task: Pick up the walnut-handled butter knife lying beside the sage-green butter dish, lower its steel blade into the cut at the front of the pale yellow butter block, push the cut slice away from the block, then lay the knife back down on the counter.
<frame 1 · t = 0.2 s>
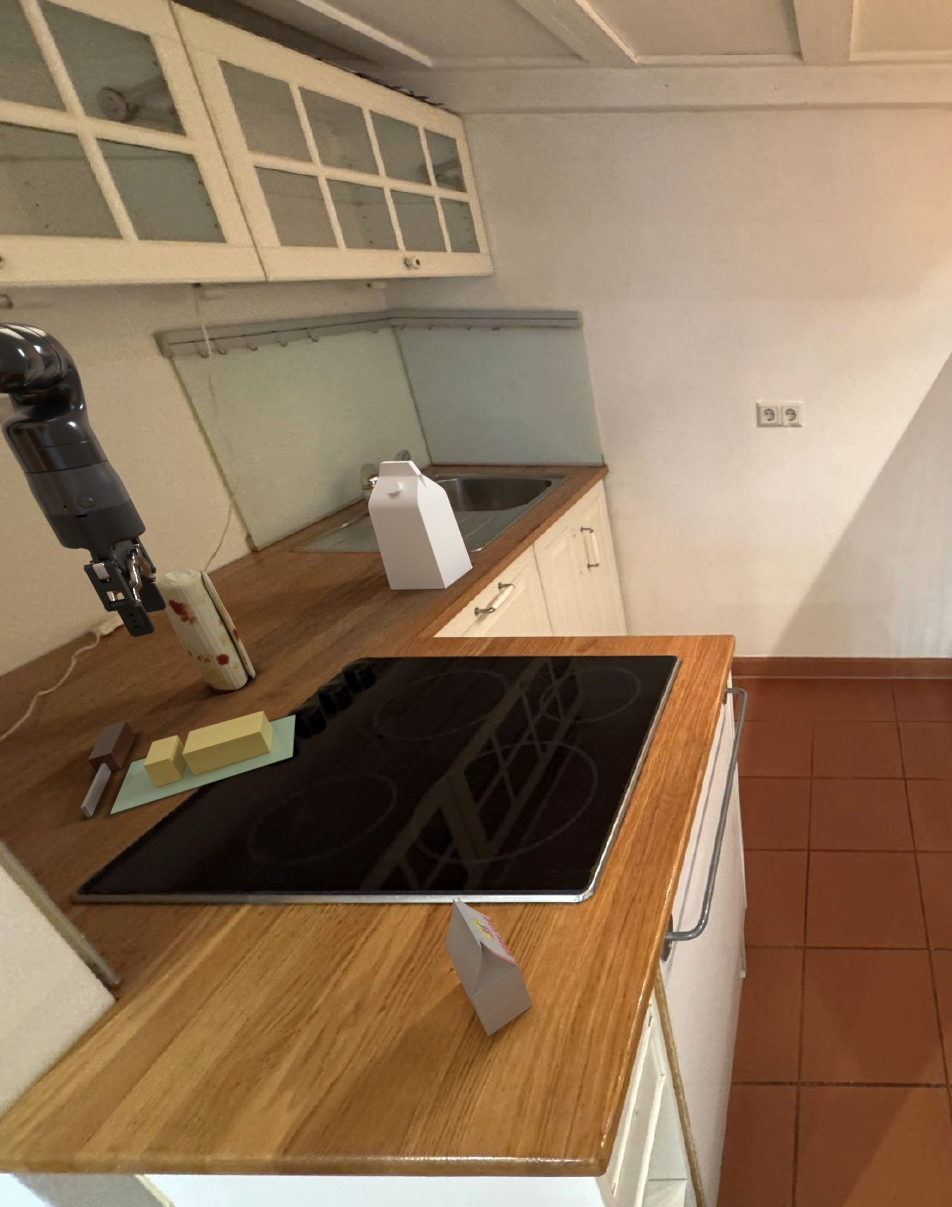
hand: (150, 621, 86), 19 cm above the worktop, tool pointing down, fingers open, 8 cm apart
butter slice: (173, 771, 86), point 1 cm above the worktop, touching butter dish
milk: (433, 579, 146), on the worktop
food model: (234, 685, 107), on the worktop
butter knife: (120, 760, 90), on the worktop
gable top carton: (498, 1001, 58), on the worktop
butter block: (235, 752, 89), resting on butter dish
butter dish: (215, 765, 89), on the worktop
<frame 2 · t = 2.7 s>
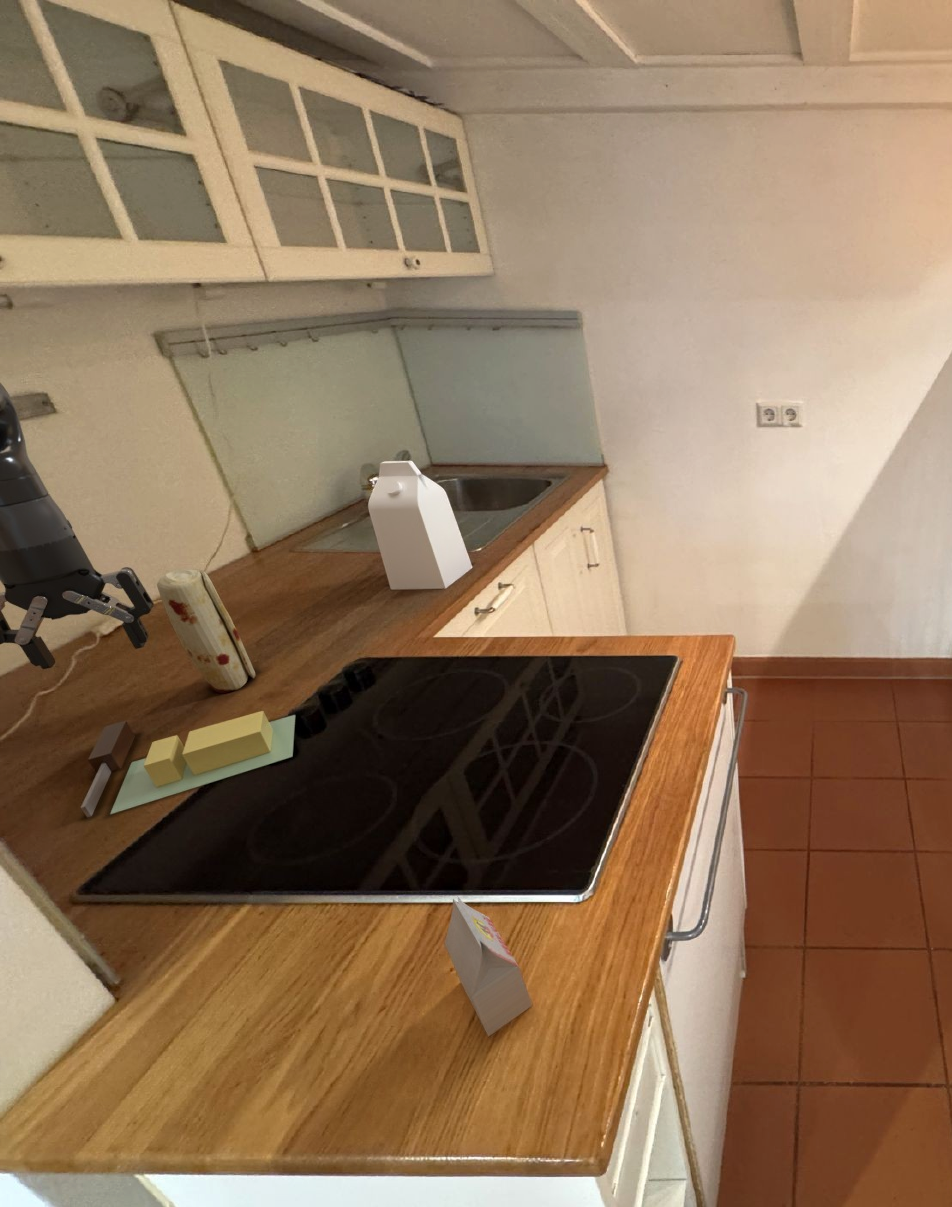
hand: (96, 655, 85), 16 cm above the worktop, tool pointing down, fingers open, 8 cm apart
nothing on the worktop moved.
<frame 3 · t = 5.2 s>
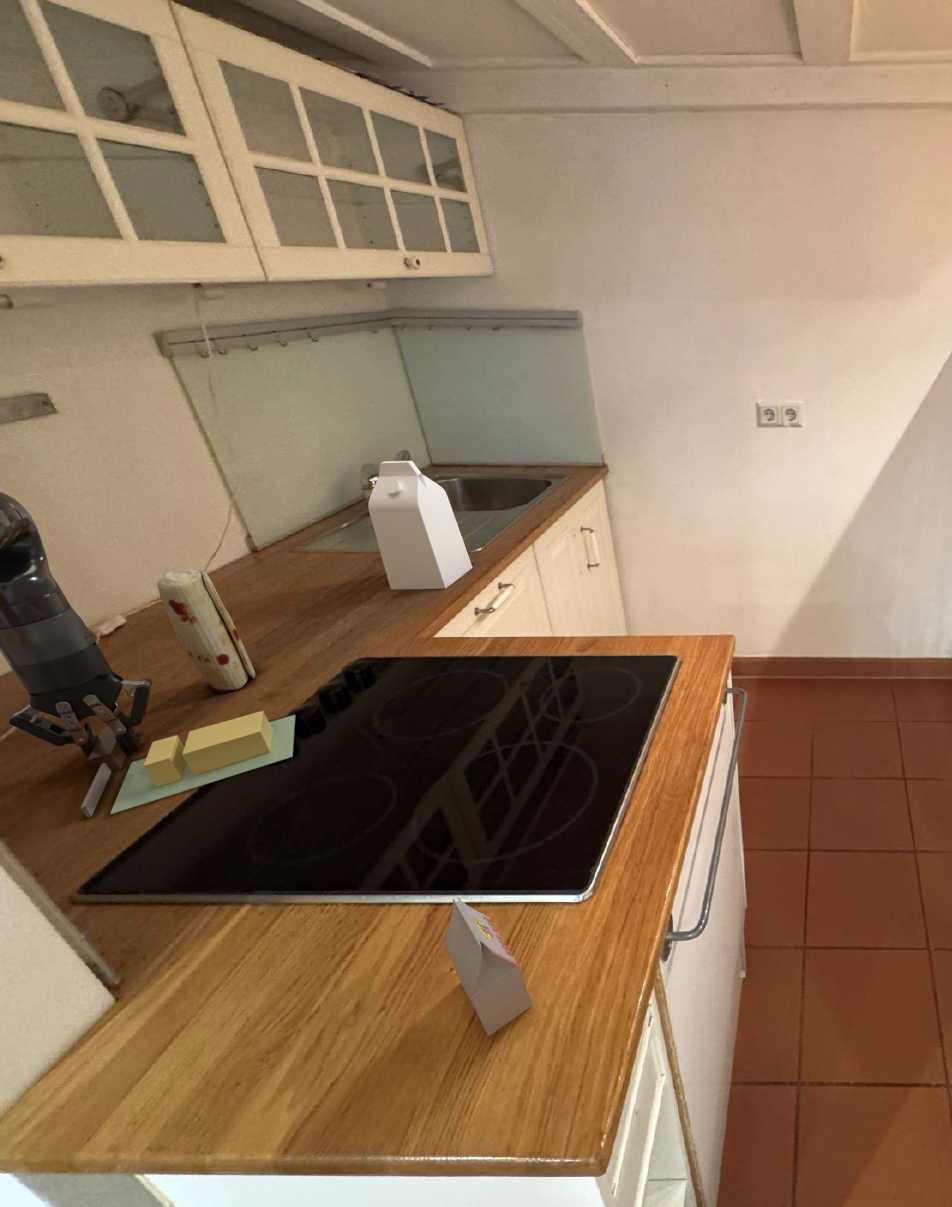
hand: (119, 756, 90), 1 cm above the worktop, tool pointing down, fingers closed on butter knife, 2 cm apart
butter knife: (121, 760, 90), on the worktop, touching gripper
everything else where it was.
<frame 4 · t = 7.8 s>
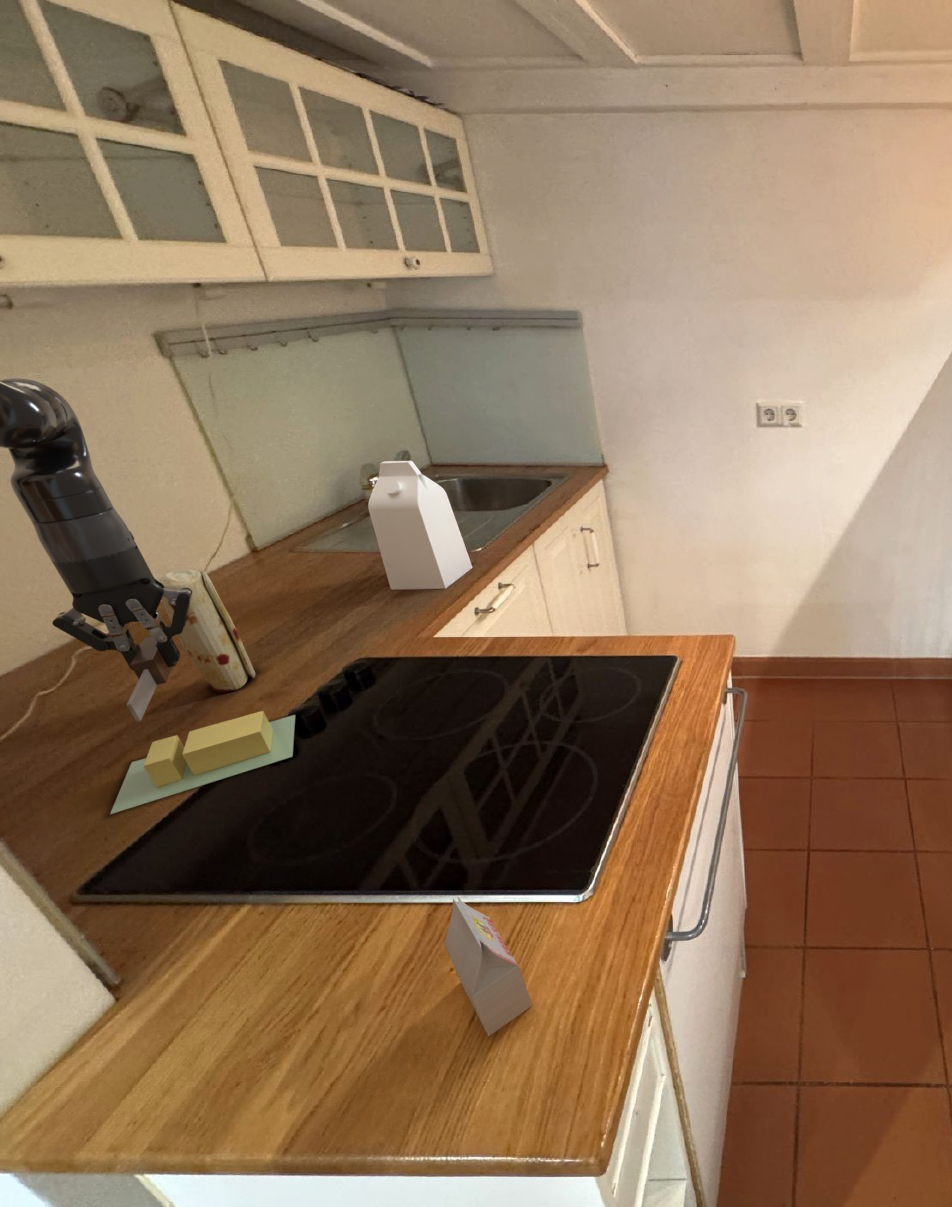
hand: (159, 667, 89), 12 cm above the worktop, tool pointing down, fingers closed on butter knife
butter knife: (161, 671, 89), point 11 cm above the worktop, touching gripper
everything else where it was.
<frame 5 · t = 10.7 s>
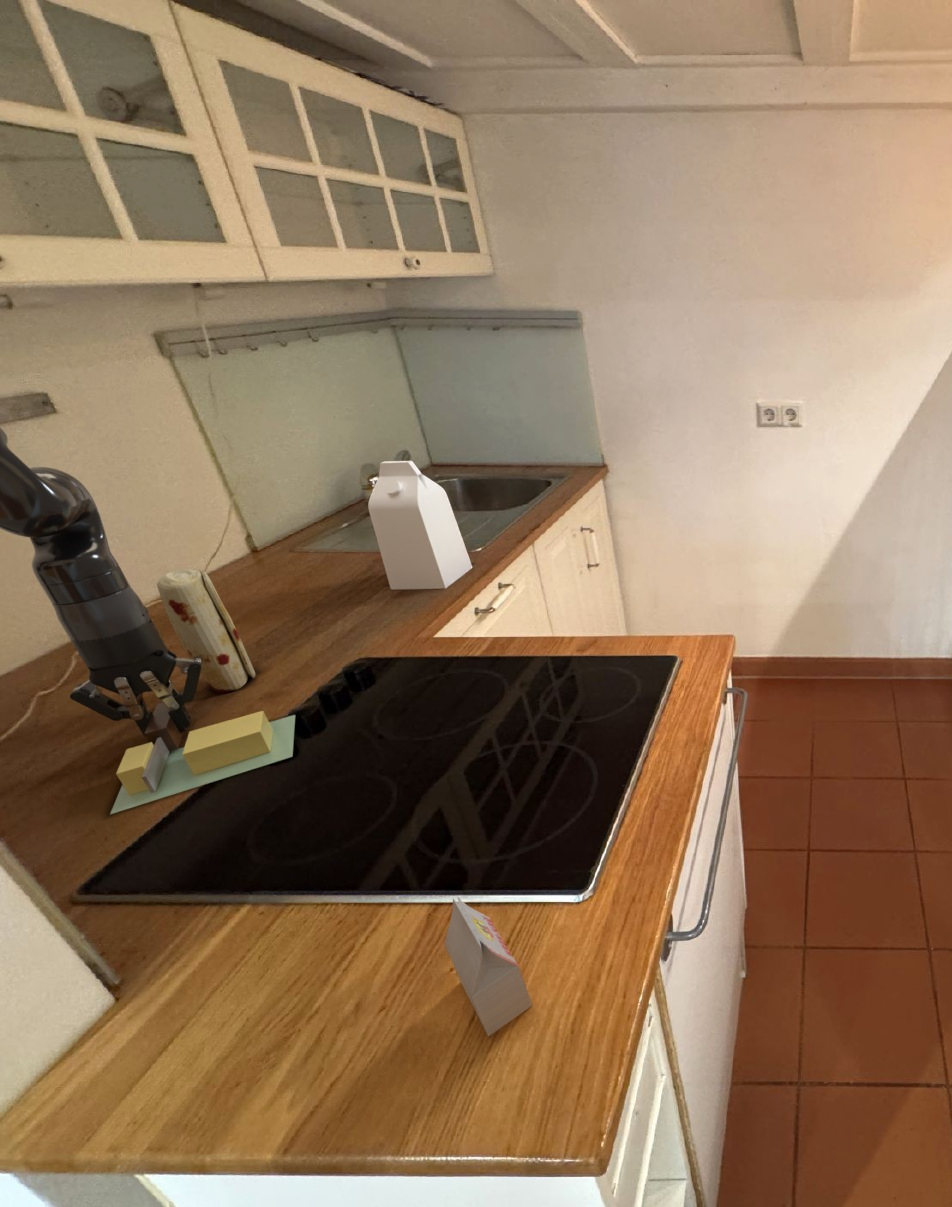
hand: (171, 732, 92), 2 cm above the worktop, tool pointing down, fingers closed on butter knife, 2 cm apart
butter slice: (147, 778, 85), point 1 cm above the worktop, touching butter dish, butter knife
butter knife: (173, 736, 93), point 1 cm above the worktop, touching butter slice, gripper
everything else where it was.
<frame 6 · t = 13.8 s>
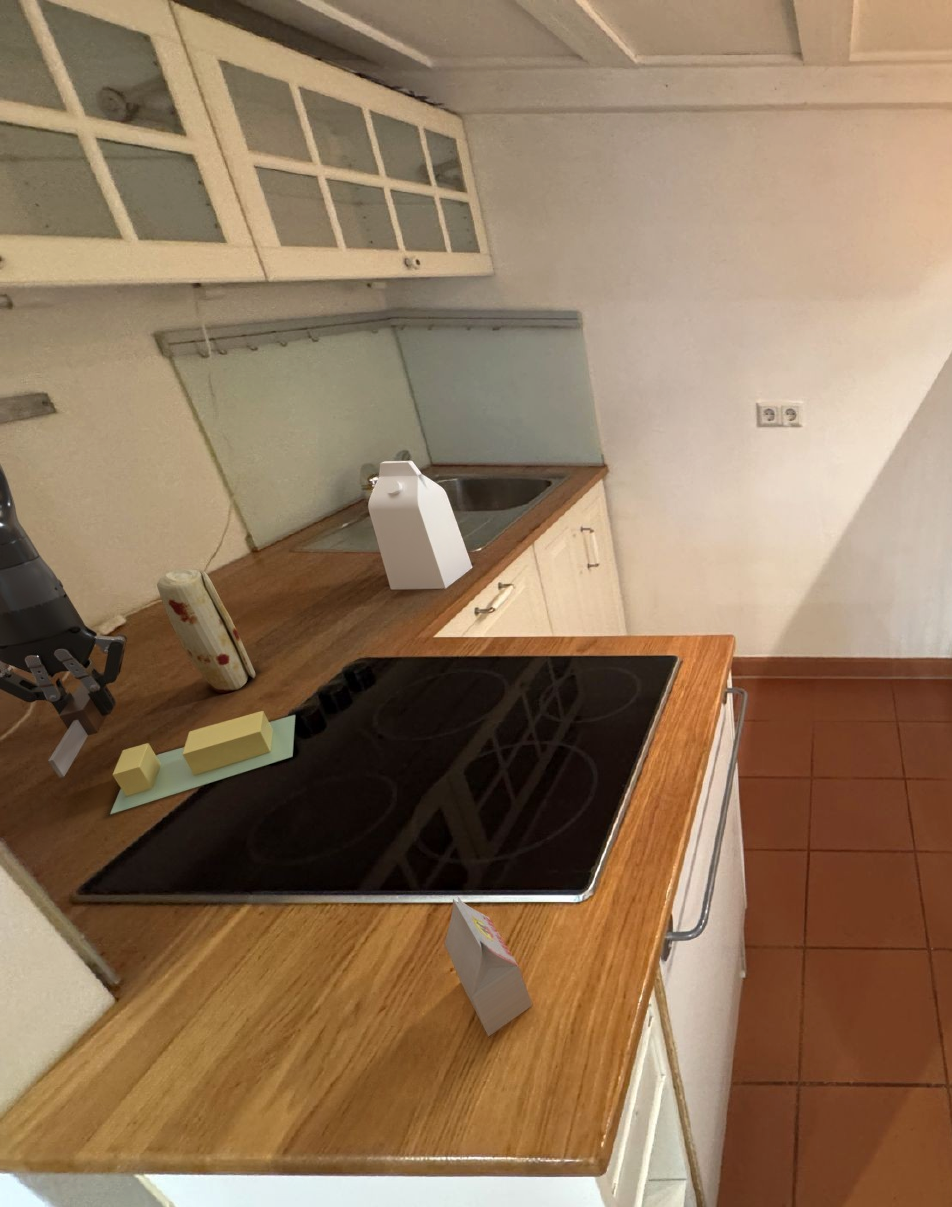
hand: (93, 715, 87), 7 cm above the worktop, tool pointing down, fingers closed on butter knife
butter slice: (144, 779, 85), point 1 cm above the worktop, touching butter dish
butter knife: (95, 719, 87), point 7 cm above the worktop, touching gripper
everything else where it was.
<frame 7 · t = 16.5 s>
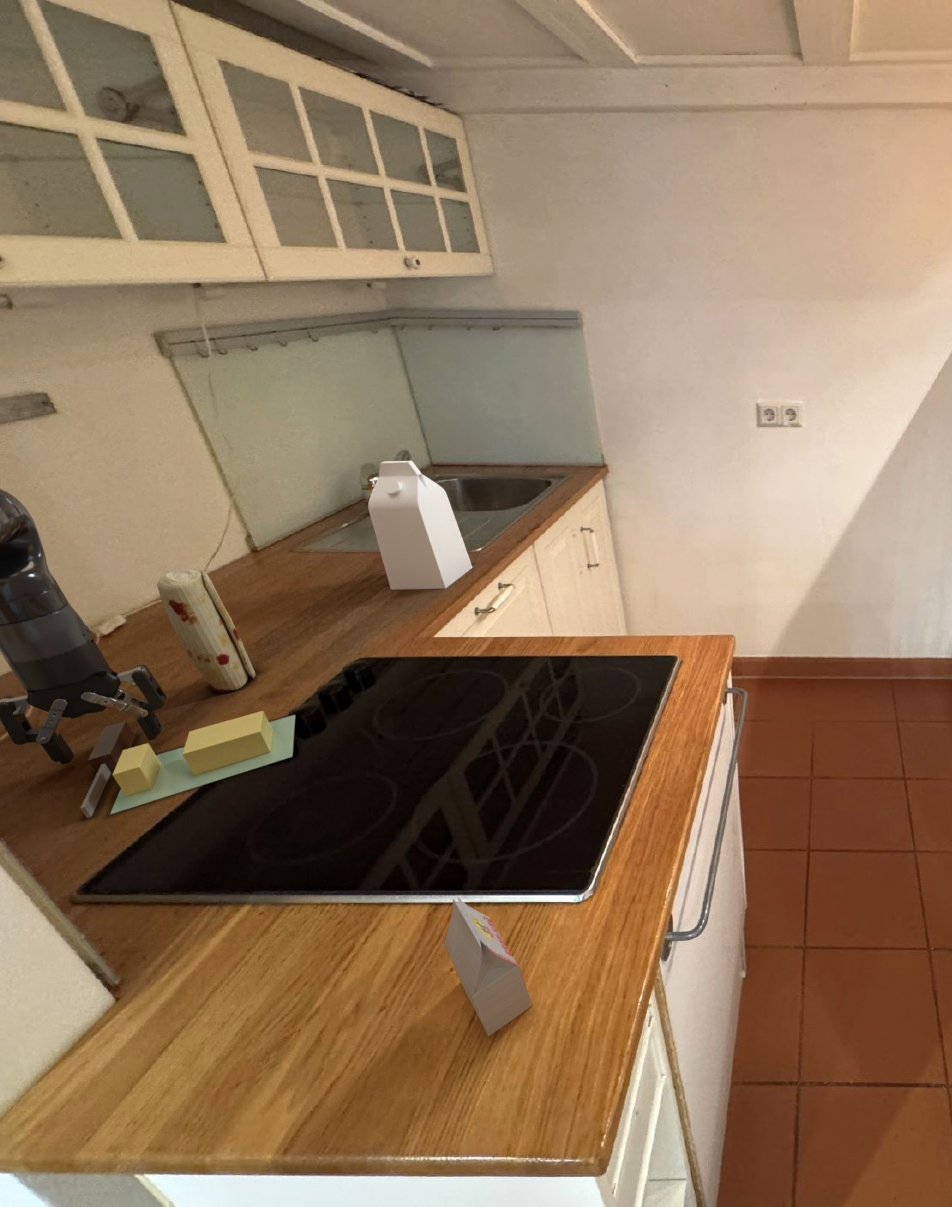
hand: (112, 748, 89), 2 cm above the worktop, tool pointing down, fingers open, 8 cm apart
butter knife: (120, 760, 90), on the worktop
everything else where it was.
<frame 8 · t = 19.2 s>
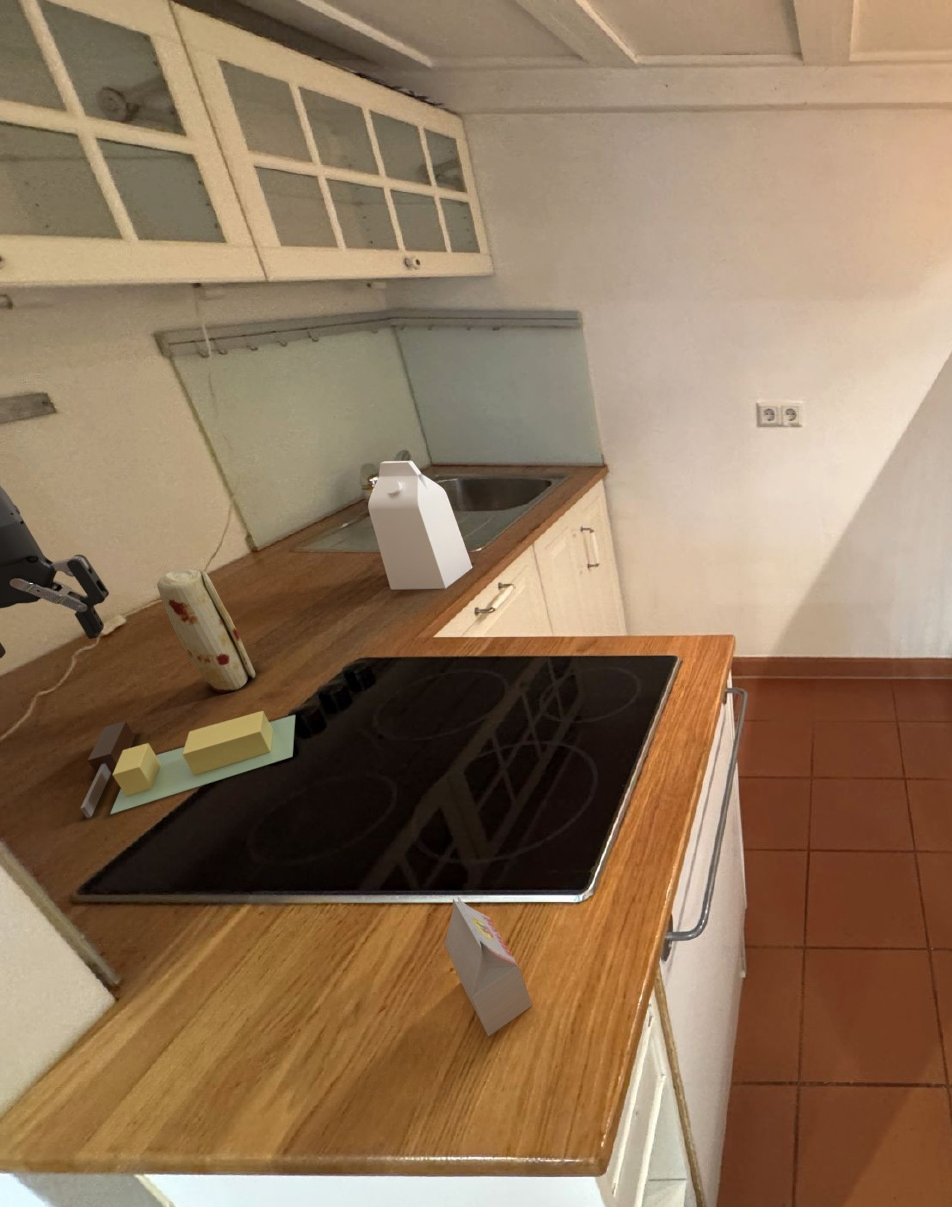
hand: (49, 645, 82), 18 cm above the worktop, tool pointing down, fingers open, 8 cm apart
nothing on the worktop moved.
at the end: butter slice moved 2.9 cm from its start; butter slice 0.3 cm from the target spot, point 1.0 cm above the worktop; butter knife inside the target area (0.1 cm from its centre), on the worktop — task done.
